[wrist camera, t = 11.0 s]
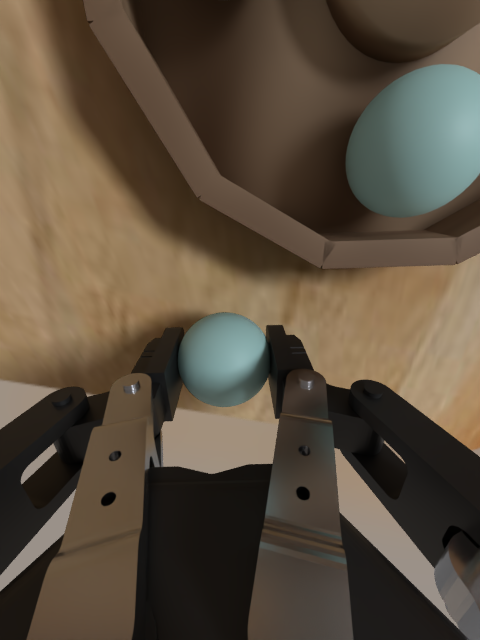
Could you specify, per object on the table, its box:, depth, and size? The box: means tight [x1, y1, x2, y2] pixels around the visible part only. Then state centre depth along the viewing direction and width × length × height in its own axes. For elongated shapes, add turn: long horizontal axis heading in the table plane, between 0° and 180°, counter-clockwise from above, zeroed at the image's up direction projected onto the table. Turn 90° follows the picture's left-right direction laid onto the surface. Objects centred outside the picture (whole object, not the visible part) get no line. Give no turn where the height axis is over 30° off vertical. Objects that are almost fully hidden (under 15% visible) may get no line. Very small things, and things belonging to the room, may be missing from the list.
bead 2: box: [345, 64, 480, 218], centre depth 9 cm, size 4×4×4 cm
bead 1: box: [178, 312, 270, 407], centre depth 12 cm, size 4×4×4 cm
